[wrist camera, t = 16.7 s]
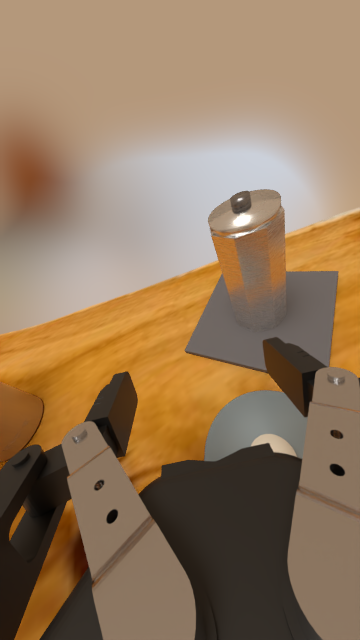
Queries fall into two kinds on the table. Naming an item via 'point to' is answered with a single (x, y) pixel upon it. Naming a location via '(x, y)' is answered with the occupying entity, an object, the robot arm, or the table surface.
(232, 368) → the table surface
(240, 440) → the grey pot lid
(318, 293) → the rubber mat
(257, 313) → the steel canister
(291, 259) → the table surface
